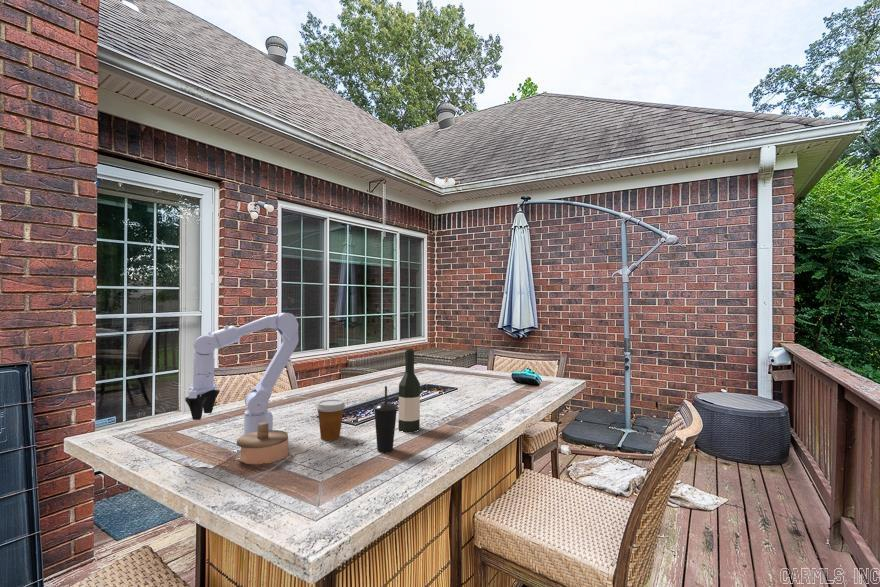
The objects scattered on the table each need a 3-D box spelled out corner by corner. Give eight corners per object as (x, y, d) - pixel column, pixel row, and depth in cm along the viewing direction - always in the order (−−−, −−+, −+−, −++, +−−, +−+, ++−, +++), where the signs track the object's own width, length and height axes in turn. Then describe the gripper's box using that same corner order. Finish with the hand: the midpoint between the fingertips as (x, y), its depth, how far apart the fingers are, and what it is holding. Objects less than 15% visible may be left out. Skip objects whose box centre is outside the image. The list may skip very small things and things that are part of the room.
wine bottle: (394, 427, 148) (395, 347, 149) (415, 425, 152) (416, 346, 153) (402, 434, 141) (403, 349, 142) (423, 431, 144) (424, 348, 145)
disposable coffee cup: (315, 443, 131) (316, 406, 131) (316, 434, 140) (317, 400, 140) (344, 440, 133) (345, 404, 134) (343, 432, 142) (344, 398, 143)
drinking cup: (392, 455, 120) (393, 389, 121) (369, 453, 122) (370, 388, 122) (400, 446, 128) (401, 384, 128) (377, 445, 129) (378, 383, 130)
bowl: (257, 448, 125) (258, 432, 126) (295, 450, 124) (295, 434, 124) (231, 463, 113) (231, 446, 113) (273, 466, 111) (273, 448, 111)
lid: (254, 431, 126) (254, 416, 126) (296, 433, 125) (296, 418, 125) (225, 447, 112) (226, 429, 112) (272, 449, 111) (272, 432, 111)
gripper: (201, 369, 133) (199, 410, 132) (178, 377, 119) (176, 423, 118) (223, 369, 134) (222, 410, 133) (203, 377, 120) (202, 422, 119)
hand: (202, 416), depth 126 cm, fingers open, 7 cm apart
